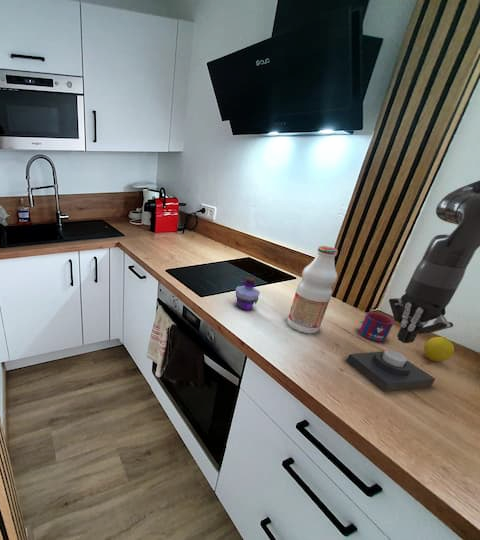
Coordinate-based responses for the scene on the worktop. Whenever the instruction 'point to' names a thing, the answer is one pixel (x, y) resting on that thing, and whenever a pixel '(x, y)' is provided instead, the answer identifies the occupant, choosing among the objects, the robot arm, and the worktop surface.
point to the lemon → (438, 349)
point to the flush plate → (389, 372)
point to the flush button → (394, 358)
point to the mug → (376, 327)
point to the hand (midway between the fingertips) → (403, 341)
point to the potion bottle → (247, 294)
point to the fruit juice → (314, 292)
